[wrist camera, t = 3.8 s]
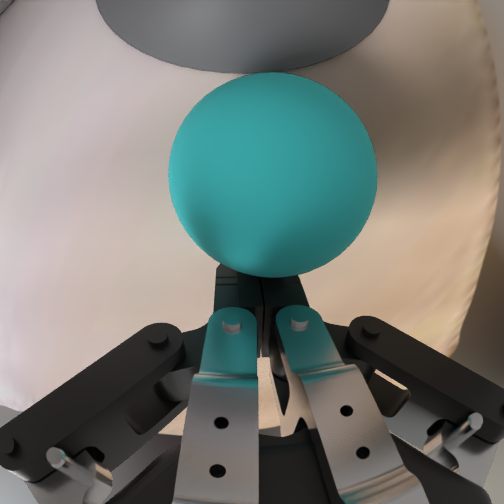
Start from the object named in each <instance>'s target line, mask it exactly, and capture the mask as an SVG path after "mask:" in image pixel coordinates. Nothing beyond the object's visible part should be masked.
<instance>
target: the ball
mask: <svg viewBox="0 0 504 504" xmlns="http://www.w3.org/2000/svg"><path fill="white" fill-rule="evenodd" d="M168 177H169V189H170V194H171V198H172V202H173V205H174V208H175V210H176V213H177V216H178V218H179V220H180V222H181V223H182V225H183V227H184V229H185V230H186V232H187V233H188V235H189V236H190V237H191V238H192V239H193V241H194V242H195V243H196V244H197V245H198V246H199V247H200V248H201V249H202V250H203V251H204V252H206V253H207V254H208V255H209V256H210V257H212V258H213V259H215V260H216V261H218V262H220V263H221V264H223V265H225V266H227V267H229V268H231V269H233V270H236V271H239V272H241V273H245V274H249V275H253V276H259V277H269V278H279V277H288V276H294V275H299V274H303V273H306V272H309V271H312V270H314V269H316V268H319V267H321V266H323V265H325V264H327V263H328V262H330V261H331V260H333V259H334V258H336V257H337V256H339V255H340V254H341V253H342V252H343V251H344V250H345V249H346V248H347V247H348V246H349V245H350V244H351V243H352V242H353V241H354V240H355V239H356V237H357V236H358V235H359V233H360V232H361V230H362V229H363V227H364V225H365V223H366V221H367V219H368V217H369V215H370V212H371V209H372V207H373V204H374V200H375V195H376V190H377V164H376V157H375V153H374V149H373V145H372V142H371V140H370V137H369V135H368V133H367V130H366V129H365V127H364V125H363V123H362V122H361V120H360V118H359V117H358V116H357V115H356V113H355V112H354V111H353V110H352V108H351V107H350V106H349V105H348V104H347V103H346V102H345V101H344V100H343V99H342V98H340V97H339V96H338V95H337V94H335V93H334V92H332V91H331V90H330V89H328V88H327V87H325V86H323V85H321V84H319V83H317V82H315V81H313V80H310V79H307V78H304V77H301V76H297V75H293V74H288V73H278V72H272V73H257V74H252V75H246V76H243V77H240V78H237V79H234V80H231V81H229V82H227V83H225V84H223V85H221V86H219V87H217V88H216V89H214V90H213V91H212V92H210V93H209V94H207V95H206V96H205V97H204V98H203V99H202V100H200V101H199V102H198V103H197V104H196V105H195V106H194V107H193V109H192V110H191V111H190V113H189V114H188V115H187V116H186V118H185V119H184V121H183V123H182V125H181V126H180V128H179V130H178V132H177V135H176V137H175V140H174V143H173V146H172V150H171V155H170V160H169V173H168Z"/></svg>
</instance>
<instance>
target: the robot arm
mask: <svg viewBox="0 0 504 504" xmlns="http://www.w3.org/2000/svg"><path fill="white" fill-rule="evenodd" d="M260 350H261V354H262V357H269V358H270V365H271V366H270V380H271V384H272V388H273V392H274V397H275V401H276V405H277V409H278V413H279V417H280V423H281V437H276V436H268V435H262V434H258V376H257V358H260ZM376 369H377V370H379V371H380V372H382V373H384V374H385V375H387V376H389V377H390V378H392V379H393V380H395V381H397V382H398V383H400V384H402V385H403V386H405V387H406V388H408V390H403V389H400V388H399V387H397V386H395V385H394V384H392V383H391V382H389V381H387V380H386V379H384V378H382V377H381V376H379V375H377V374H376V373H374V372H375V370H376ZM186 407H187V412H186V418H185V424H184V430H183V436H182V443H181V444H180V445H177V446H175V447H173V448H171V449H169V450H167V451H165V452H164V453H163V454H161V455H160V456H159V457H157V458H156V459H155V460H154V461H153V462H152V463H151V464H150V465H149V466H147V467H146V468H145V469H144V470H143V471H142V472H141V473H140V474H139V475H138V476H136V478H134V480H132V481H131V482H130V483H129V484H128V485H127V486H125V487H124V488H123V489H122V490H121V491H120V492H118V493H117V494H116V495H115V496H114V497H112V498H111V499H110V500H109V501H107V502H106V503H105V504H492V503H491V499H490V497H489V495H488V493H487V492H486V491H485V490H484V489H483V488H482V487H483V485H484V483H485V480H486V478H487V475H488V473H489V470H490V467H491V465H492V462H493V459H494V456H495V453H496V450H497V446H498V443H499V441H500V440H501V439H503V438H504V389H503V388H501V387H500V386H498V385H496V384H494V383H493V382H491V381H489V380H487V379H486V378H484V377H482V376H480V375H479V374H477V373H475V372H473V371H471V370H469V369H468V368H466V367H464V366H463V365H461V364H459V363H457V362H455V361H454V360H452V359H450V358H448V357H447V356H445V355H443V354H441V353H439V352H438V351H436V350H434V349H432V348H431V347H429V346H427V345H425V344H423V343H422V342H420V341H418V340H416V339H414V338H413V337H411V336H409V335H407V334H405V333H404V332H402V331H400V330H398V329H397V328H395V327H393V326H391V325H389V324H388V323H386V322H384V321H382V320H380V319H378V318H376V317H372V316H360V317H357V318H355V319H354V320H352V322H351V323H350V325H349V327H347V326H340V325H334V324H329V323H326V322H324V321H323V320H322V318H321V316H320V315H319V313H318V312H316V311H315V310H314V309H312V308H310V306H309V304H308V301H307V298H306V295H305V292H304V289H303V287H302V284H301V281H300V278H299V277H298V275H294V276H288V277H279V278H269V277H259V276H253V275H249V274H245V273H241V272H239V271H236V270H233V269H231V268H229V267H227V266H225V265H223V264H221V263H220V265H219V266H218V267H217V269H216V282H215V296H214V312H213V314H212V315H211V317H210V318H209V321H208V323H207V324H206V325H204V326H202V327H201V328H198V329H195V330H192V331H188V332H183V333H181V331H180V330H179V329H178V328H177V327H176V326H174V325H172V324H168V323H154V324H151V325H148V326H146V327H144V328H143V329H141V330H140V331H139V332H137V333H136V334H134V335H133V336H131V337H130V338H128V339H127V340H126V341H124V342H123V343H121V344H120V345H118V346H117V347H116V348H114V349H113V350H111V351H110V352H108V353H107V354H106V355H104V356H103V357H101V358H100V359H98V360H97V361H96V362H94V363H93V364H91V365H90V366H88V367H87V368H86V369H84V370H83V371H81V372H80V373H78V374H77V375H75V376H74V377H73V378H71V379H70V380H68V381H67V382H65V383H64V384H63V385H61V386H60V387H58V388H57V389H55V390H54V391H53V392H51V393H50V394H48V395H47V396H45V397H44V398H43V399H41V400H40V401H38V402H37V403H35V404H34V405H32V406H31V407H30V408H28V409H27V410H25V411H24V412H22V413H21V414H20V415H18V416H17V417H15V418H14V419H12V420H11V421H10V422H8V423H7V424H5V425H4V426H2V427H1V428H0V465H1V466H2V467H4V468H5V469H7V470H8V471H10V472H11V473H13V474H15V475H16V476H18V477H19V478H21V479H22V480H23V481H24V482H25V483H26V484H27V486H28V488H29V489H30V491H31V492H32V494H33V496H34V497H35V499H36V500H37V502H38V503H39V504H102V503H103V501H104V499H105V498H106V497H107V496H108V495H109V493H110V492H111V490H112V486H113V480H112V476H111V473H110V472H111V471H112V470H114V469H115V468H116V467H118V466H119V465H120V464H121V463H123V462H124V461H125V460H126V459H128V458H129V457H130V456H131V455H132V454H134V453H135V452H136V451H137V450H138V449H140V448H141V447H142V446H143V445H144V444H146V443H147V442H148V441H149V440H150V439H151V438H153V437H154V436H155V435H156V434H157V433H158V432H159V431H161V430H162V429H163V428H164V427H165V426H166V425H167V424H168V423H170V422H171V421H172V420H173V419H174V418H175V417H176V416H177V415H178V414H180V413H181V412H182V411H183V410H184V409H185V408H186ZM389 430H390V431H392V432H393V433H395V434H397V435H398V436H400V437H401V438H403V439H405V440H406V441H408V442H410V443H411V444H413V445H415V446H417V447H418V448H420V449H422V450H423V453H424V454H423V453H421V452H420V451H418V450H417V449H415V448H413V447H412V446H410V445H409V444H407V443H406V442H404V441H403V440H401V439H399V438H398V437H397V436H395V435H393V434H391V433H390V432H389Z"/></svg>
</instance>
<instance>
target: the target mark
mask: <svg viewBox="0 0 504 504" xmlns="http://www.w3.org/2000/svg"><path fill="white" fill-rule="evenodd" d="M388 2H389V0H96V3H97V6H98V9H99V12H100V14H101V15H102V17H103V19H104V21H105V22H106V24H107V25H108V26H109V27H110V28H111V29H112V31H113V32H114V33H115V34H116V35H118V36H119V37H120V38H121V39H122V40H124V41H125V42H126V43H127V44H129V45H131V46H133V47H134V48H136V49H138V50H139V51H141V52H143V53H145V54H147V55H150V56H152V57H154V58H156V59H159V60H161V61H165V62H168V63H171V64H175V65H178V66H181V67H187V68H192V69H196V70H201V71H211V72H219V73H242V74H249V73H269V72H276V71H283V70H291V69H295V68H299V67H304V66H309V65H312V64H315V63H318V62H321V61H324V60H327V59H330V58H332V57H334V56H336V55H338V54H340V53H343V52H345V51H347V50H348V49H350V48H351V47H353V46H355V45H356V44H358V43H359V42H361V41H362V40H363V39H364V38H365V37H367V36H368V35H369V34H370V33H371V32H372V31H373V30H374V28H375V27H376V26H377V25H378V23H379V22H380V21H381V19H382V17H383V15H384V13H385V11H386V9H387V5H388Z"/></svg>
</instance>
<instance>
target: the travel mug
mask: <svg viewBox="0 0 504 504" xmlns="http://www.w3.org/2000/svg"><path fill="white" fill-rule="evenodd" d="M12 1H13V0H0V14H1V13H2V12H3V11H4V10H5V9H6V8H7V7H8V6H9V5H10V4H11V2H12Z"/></svg>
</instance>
